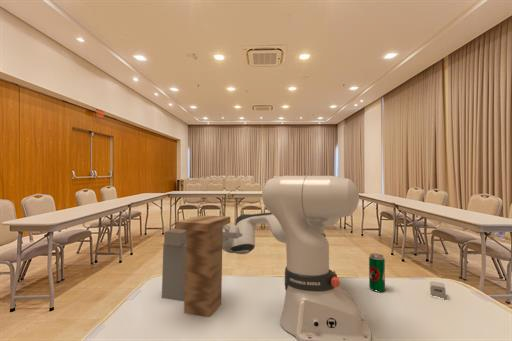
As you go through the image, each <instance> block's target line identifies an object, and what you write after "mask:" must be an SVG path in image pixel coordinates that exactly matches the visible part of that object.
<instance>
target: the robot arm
mask: <svg viewBox="0 0 512 341" xmlns="http://www.w3.org/2000/svg"><path fill="white" fill-rule="evenodd" d="M261 200H262V204H263V205H264V207H265V209H266V210H267V211H268V212H262V213H254V214H253V213H252V214H250V213H249V214H248V213H245V214H240V215H239V216H237V217H236V219H235V225H233V224H232V225H230V224H226V225H224V226H223V238H222V251H224V252H226V253H229V254H237V255H246V254H249V253H250V252H252V251H253V250H254V249H255V247H256V226H257V225H259V224H261V225H262V224H268V227H269V230H270V232H271V235H272V236H273V238H275V240H277V241H278V242H279V243H282V244H285V247H286V249H285V250H286V267H285V269H284V289H285V296H284V301H283V302H284V303H283V309H282V313H281V316H280V319H279V320H280V321H279V322H280V326H281V327H282V328H283V329H284V330H285V331H286V332H288V333H289V334H291V335H292V336H294V337H295V338H296V339H297V340H298V341H372V330H371V327H370V324H369V323H368V321H367V320H366V318H364V317H363V316H361V311H360V308H359V306H358V304H357V302H356V300H355V299H354V298H353V297H352V296H350V294H348V293H347V292H346V291H344V289H342V288H341V287H339V286H340V284H341V282H340V279H339V278H338V274H336V270H333V271H332V270H331V269H330V244H329V241H328V239H327V237H326V233H325V228H328V227H329V228H330V227H333V226H334V225H336V224H337V223H338V222H339V221H340V218H346V217H350V216H352V215H353V214H354V212H355V211H356V209H357V208H358V206H359V203H360V202H359V201H360V194H359V190H358V188H357V186H356V184H355V183H354V181H353V180H351V179H350V178H346V177H341V176H335V175H282V176H276V177H273V178H269V179H268V180H267V181H266V182H265V184H264V186H263V188H262V192H261Z"/></svg>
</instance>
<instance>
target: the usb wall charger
mask: <svg viewBox="0 0 512 341" xmlns="http://www.w3.org/2000/svg"><path fill="white" fill-rule="evenodd" d="M429 288H430V289H429V290H430V291H429V292H430V296H431V295H432V296H437V297H440V298H444V299H445V300H446V297H447V296H446V292H447V291H446V286H445V283H443V282H438V281H433V280H432V281H430V282H429Z"/></svg>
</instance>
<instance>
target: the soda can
mask: <svg viewBox="0 0 512 341" xmlns="http://www.w3.org/2000/svg"><path fill="white" fill-rule="evenodd" d="M385 260H386V259H385V257H384V255H383V254H380V253H370V254H369V256H368V276H369V277H368V284H369V285H368V287H369V289H370V288H371V289H373V290H377V291H383V292H384V291H386V268H385V267H386V265H385V264H386V261H385ZM371 289H370V290H371ZM373 290H372V291H373Z"/></svg>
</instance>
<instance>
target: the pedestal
mask: <svg viewBox="0 0 512 341" xmlns="http://www.w3.org/2000/svg"><path fill="white" fill-rule="evenodd" d="M162 246H163V247H162V248H163V249H162V273H161V274H162V275H161V276H162V278H161V280H162V282H161V298H162V299H169V300H175V301H176V300H177V301H183V302H184V292H185V251H186V244H184V245H182V246H176V245H164V243H163V244H162Z"/></svg>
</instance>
